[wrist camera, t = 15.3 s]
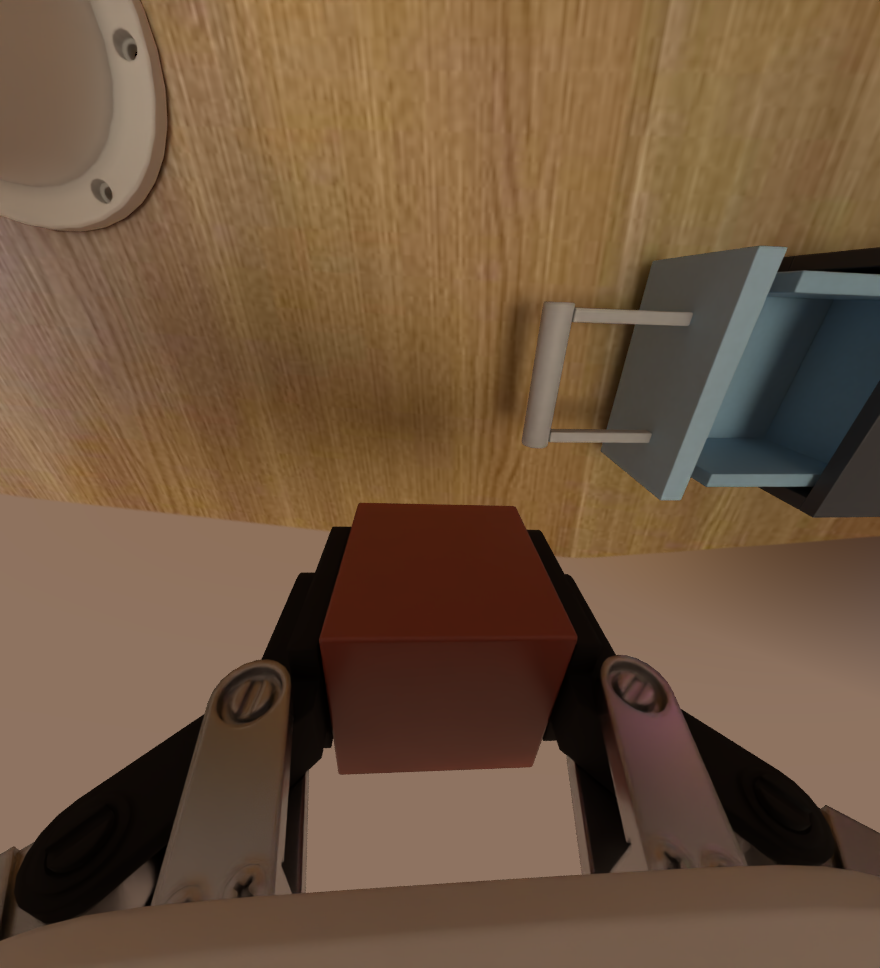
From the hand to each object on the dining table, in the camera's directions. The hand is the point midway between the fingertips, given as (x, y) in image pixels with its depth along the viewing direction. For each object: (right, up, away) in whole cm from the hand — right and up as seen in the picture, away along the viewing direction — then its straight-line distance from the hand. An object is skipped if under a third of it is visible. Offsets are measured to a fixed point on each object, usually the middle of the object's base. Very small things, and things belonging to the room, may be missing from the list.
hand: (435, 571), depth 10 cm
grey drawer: (+14, +10, +12) cm, 21 cm away
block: (0, 0, 0) cm, 0 cm away
